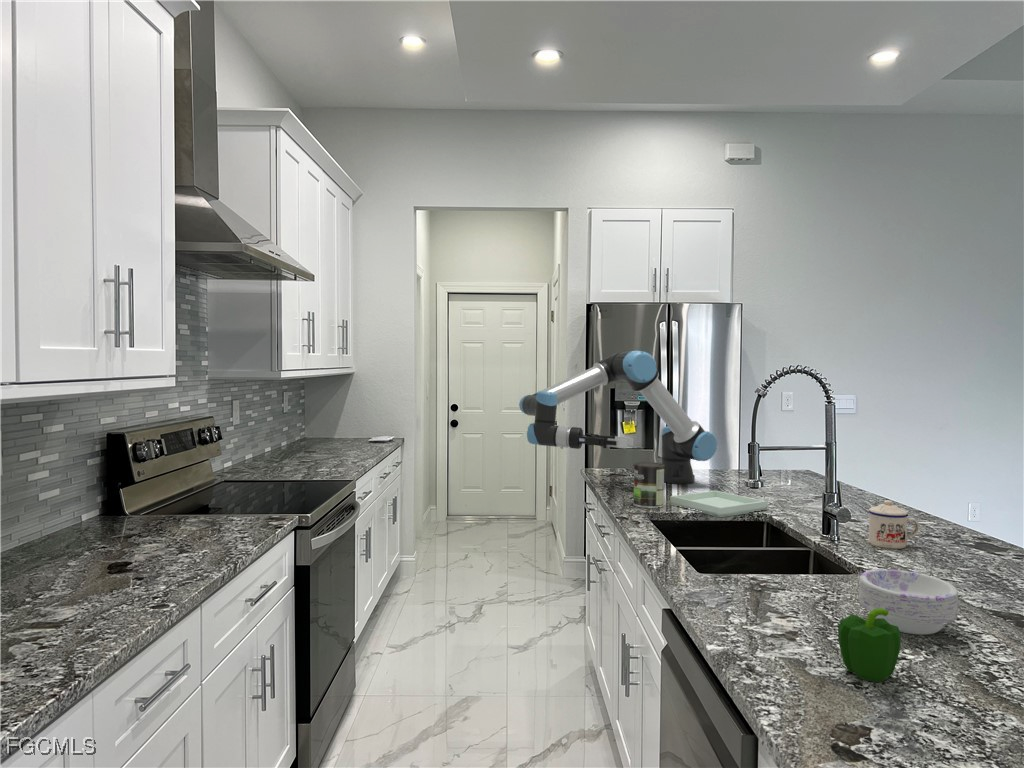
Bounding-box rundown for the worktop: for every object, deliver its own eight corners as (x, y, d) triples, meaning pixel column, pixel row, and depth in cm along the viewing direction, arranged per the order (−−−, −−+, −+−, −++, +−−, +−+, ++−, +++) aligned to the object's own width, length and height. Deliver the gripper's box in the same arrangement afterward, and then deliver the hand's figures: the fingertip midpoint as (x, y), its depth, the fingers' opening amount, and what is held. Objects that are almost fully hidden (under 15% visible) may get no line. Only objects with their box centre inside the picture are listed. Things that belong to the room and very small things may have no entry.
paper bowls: (919, 648, 107) (920, 600, 107) (840, 616, 121) (840, 574, 121) (977, 634, 113) (978, 589, 113) (895, 605, 127) (896, 564, 127)
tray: (715, 498, 233) (715, 490, 233) (767, 510, 214) (767, 501, 214) (670, 504, 222) (670, 496, 222) (720, 517, 203) (720, 508, 203)
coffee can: (642, 509, 214) (642, 466, 214) (627, 503, 224) (628, 462, 224) (670, 507, 217) (670, 465, 217) (654, 501, 227) (654, 461, 227)
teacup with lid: (874, 548, 168) (875, 503, 168) (863, 539, 177) (863, 496, 177) (925, 551, 166) (926, 505, 166) (911, 542, 175) (912, 498, 174)
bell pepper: (840, 682, 95) (841, 614, 95) (834, 659, 103) (835, 596, 103) (906, 692, 92) (907, 622, 92) (895, 668, 100) (896, 603, 100)
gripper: (577, 445, 242) (634, 451, 235) (560, 450, 219) (623, 456, 212) (579, 425, 242) (636, 430, 235) (561, 428, 219) (624, 433, 212)
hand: (630, 443), depth 223 cm, fingers open, 13 cm apart
